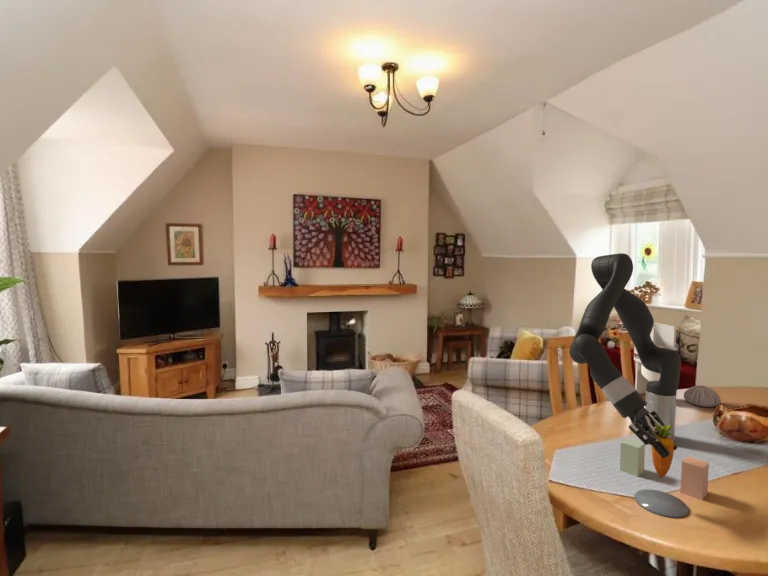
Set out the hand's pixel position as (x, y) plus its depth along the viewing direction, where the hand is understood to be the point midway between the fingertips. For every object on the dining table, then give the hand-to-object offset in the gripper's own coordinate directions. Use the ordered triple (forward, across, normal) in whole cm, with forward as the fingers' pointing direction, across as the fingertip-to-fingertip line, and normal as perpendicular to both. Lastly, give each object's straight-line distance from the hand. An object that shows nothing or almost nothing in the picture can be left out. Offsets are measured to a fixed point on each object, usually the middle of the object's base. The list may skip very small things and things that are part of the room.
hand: (670, 452), depth 111 cm
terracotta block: (+12, +13, +9) cm, 20 cm away
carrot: (+4, 0, +7) cm, 8 cm away
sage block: (+1, +13, +20) cm, 24 cm away
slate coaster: (+9, 0, +12) cm, 15 cm away
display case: (-13, +86, +34) cm, 94 cm away
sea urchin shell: (-2, +100, +23) cm, 103 cm away
